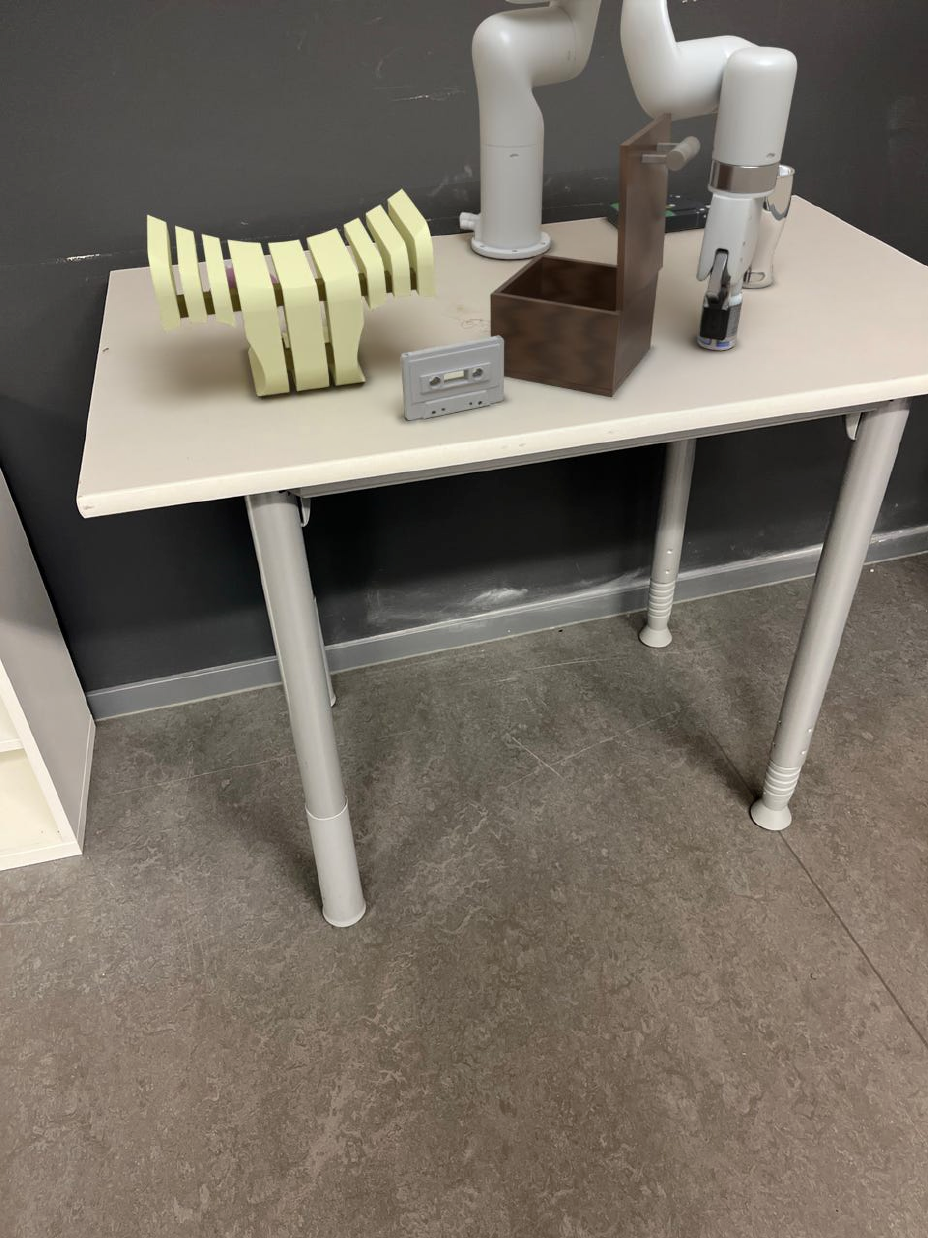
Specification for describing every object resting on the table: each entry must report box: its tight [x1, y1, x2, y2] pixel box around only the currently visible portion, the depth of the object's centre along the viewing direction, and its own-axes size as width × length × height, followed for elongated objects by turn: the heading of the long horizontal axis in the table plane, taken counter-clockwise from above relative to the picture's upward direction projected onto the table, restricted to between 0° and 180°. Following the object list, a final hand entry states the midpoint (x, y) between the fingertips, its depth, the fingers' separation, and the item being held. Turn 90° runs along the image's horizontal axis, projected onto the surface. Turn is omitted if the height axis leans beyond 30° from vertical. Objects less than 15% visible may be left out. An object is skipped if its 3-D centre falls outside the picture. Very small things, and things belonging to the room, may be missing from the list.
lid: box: [616, 113, 701, 311], centre depth 100 cm, size 16×15×5 cm
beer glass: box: [742, 163, 796, 289], centre depth 129 cm, size 7×7×15 cm
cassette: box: [400, 335, 505, 421], centre depth 103 cm, size 12×2×8 cm, turn 112°
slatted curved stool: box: [146, 188, 437, 397], centre depth 109 cm, size 30×16×18 cm, turn 105°
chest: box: [489, 253, 660, 398], centre depth 112 cm, size 16×15×10 cm
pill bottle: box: [697, 276, 744, 351], centre depth 115 cm, size 5×5×8 cm
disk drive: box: [605, 193, 710, 233], centre depth 153 cm, size 10×3×15 cm
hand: (718, 328), depth 117 cm, fingers closed on pill bottle, 4 cm apart
